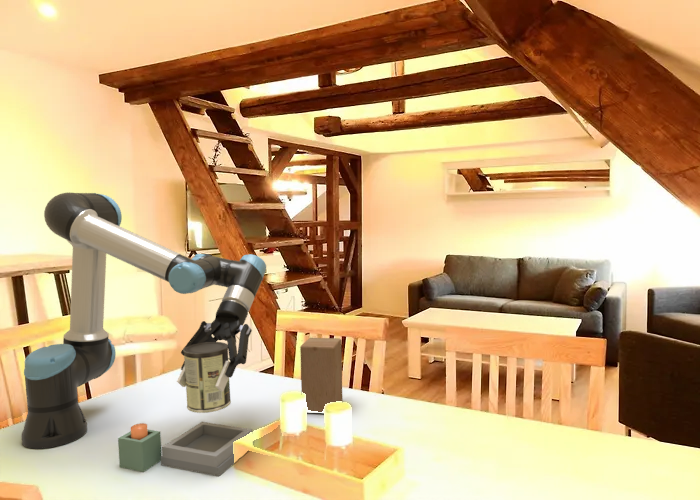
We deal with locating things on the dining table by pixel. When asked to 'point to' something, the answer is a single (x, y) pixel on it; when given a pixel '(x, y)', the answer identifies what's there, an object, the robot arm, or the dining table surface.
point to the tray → (203, 448)
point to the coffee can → (205, 376)
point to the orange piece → (139, 431)
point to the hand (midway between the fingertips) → (199, 386)
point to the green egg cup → (140, 451)
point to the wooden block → (321, 372)
